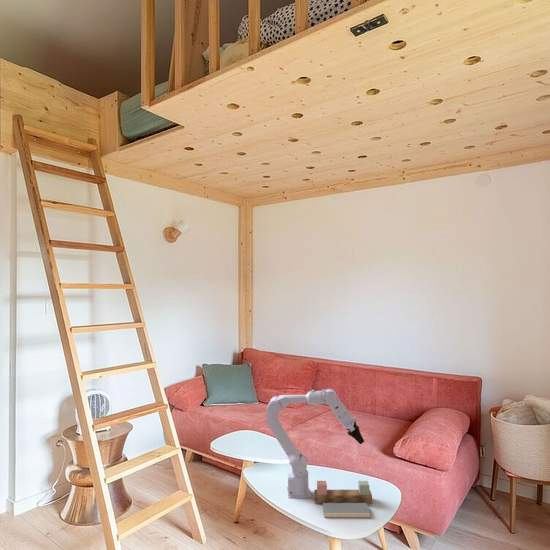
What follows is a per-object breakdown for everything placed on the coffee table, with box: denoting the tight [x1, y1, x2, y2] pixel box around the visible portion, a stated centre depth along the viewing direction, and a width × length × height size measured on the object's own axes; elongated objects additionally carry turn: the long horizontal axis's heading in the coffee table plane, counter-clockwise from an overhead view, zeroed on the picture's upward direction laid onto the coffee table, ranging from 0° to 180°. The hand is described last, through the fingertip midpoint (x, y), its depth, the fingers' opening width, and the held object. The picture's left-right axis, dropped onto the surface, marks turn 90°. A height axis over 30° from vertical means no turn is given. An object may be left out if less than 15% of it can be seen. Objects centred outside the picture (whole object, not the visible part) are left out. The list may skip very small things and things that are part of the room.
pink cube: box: [316, 480, 328, 495], centre depth 173 cm, size 4×4×4 cm
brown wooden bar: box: [314, 489, 373, 505], centre depth 172 cm, size 24×5×4 cm, turn 88°
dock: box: [322, 503, 371, 518], centre depth 163 cm, size 18×7×2 cm, turn 88°
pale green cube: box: [357, 480, 371, 495], centre depth 172 cm, size 4×4×4 cm
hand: (360, 440), depth 177 cm, fingers open, 7 cm apart
